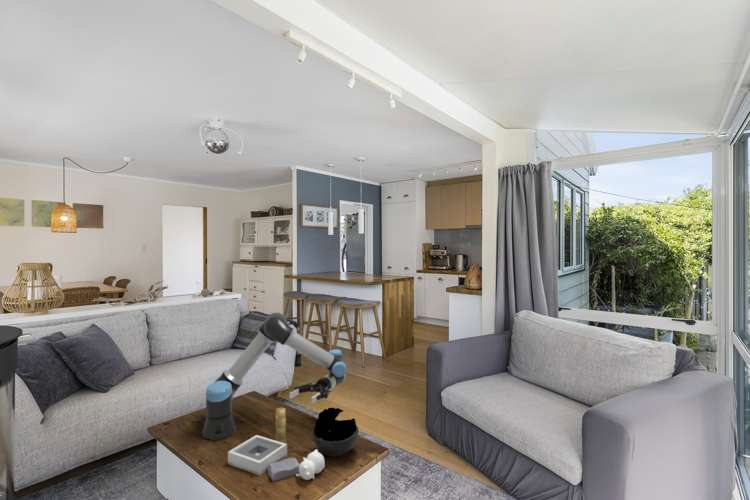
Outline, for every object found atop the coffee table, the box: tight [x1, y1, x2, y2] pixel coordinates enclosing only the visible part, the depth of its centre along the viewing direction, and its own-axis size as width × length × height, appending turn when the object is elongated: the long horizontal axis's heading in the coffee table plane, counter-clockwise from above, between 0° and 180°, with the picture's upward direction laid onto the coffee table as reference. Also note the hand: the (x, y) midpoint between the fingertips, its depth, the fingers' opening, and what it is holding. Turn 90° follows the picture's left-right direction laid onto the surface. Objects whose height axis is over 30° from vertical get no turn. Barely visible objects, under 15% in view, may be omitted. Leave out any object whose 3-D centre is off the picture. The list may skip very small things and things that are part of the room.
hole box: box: [227, 434, 288, 476], centre depth 157 cm, size 18×16×5 cm
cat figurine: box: [295, 448, 326, 481], centre depth 146 cm, size 9×11×12 cm
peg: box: [275, 407, 287, 444], centre depth 169 cm, size 4×4×16 cm
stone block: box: [267, 457, 301, 482], centre depth 148 cm, size 12×5×10 cm
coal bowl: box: [312, 407, 360, 458], centre depth 161 cm, size 20×20×19 cm
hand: (300, 398), depth 181 cm, fingers open, 13 cm apart
